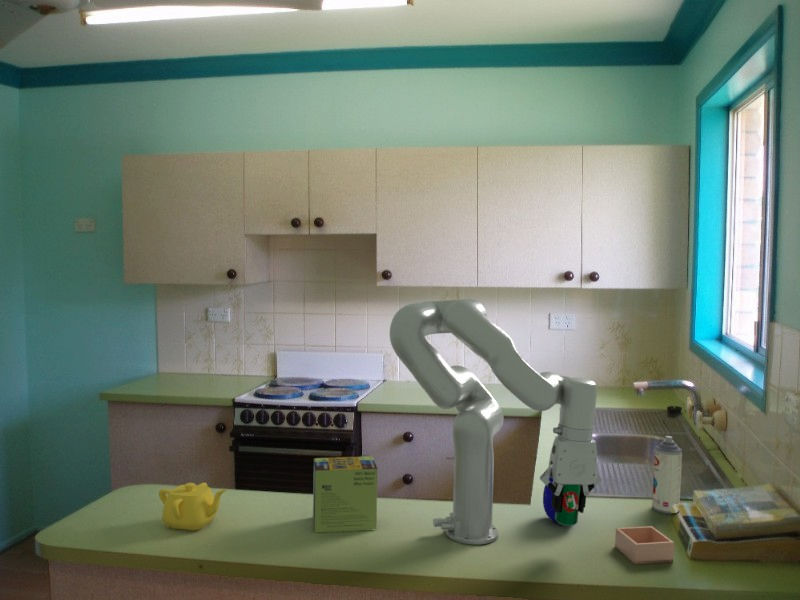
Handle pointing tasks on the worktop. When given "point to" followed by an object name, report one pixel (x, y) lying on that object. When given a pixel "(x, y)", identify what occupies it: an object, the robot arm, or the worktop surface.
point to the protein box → (344, 494)
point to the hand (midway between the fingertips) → (567, 509)
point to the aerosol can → (666, 476)
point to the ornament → (548, 502)
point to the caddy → (644, 545)
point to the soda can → (569, 505)
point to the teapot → (189, 506)
